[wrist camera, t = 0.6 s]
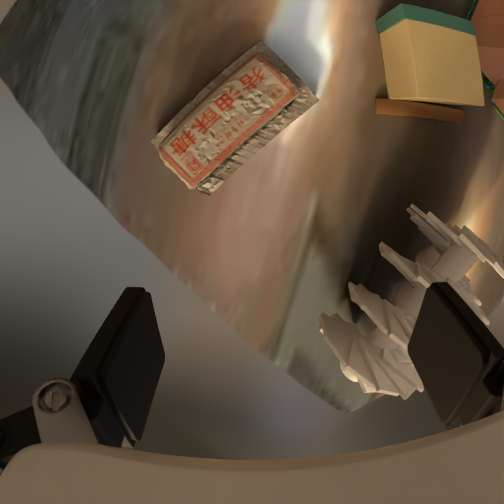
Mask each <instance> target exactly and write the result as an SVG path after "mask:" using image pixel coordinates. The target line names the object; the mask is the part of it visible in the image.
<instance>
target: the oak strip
mask: <svg viewBox="0 0 504 504" xmlns="http://www.w3.org/2000/svg"><path fill="white" fill-rule="evenodd" d="M375 112H376V114H389V115H400V116H410V117H419V118H427V119H434V120H441V121H448V122H454V123H460V124H463V110H459V109H454V108H449V107H443V106H437V105H431V104H425V103H418V102H410V101H402V100H393V99H382V98H375Z"/></svg>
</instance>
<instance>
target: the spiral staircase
mask: <svg viewBox="0 0 504 504" xmlns="http://www.w3.org/2000/svg"><path fill="white" fill-rule="evenodd" d="M410 207H411V208H412V209H413V210H414V211H415V212H417V213H418V214H419V215H420V216H421V217H422V218H423V219H424V220H425V221H427V222H428V223H429V224H430V225H431V226H432V227H433V228H434V229H435V230H436V231H437V232H438V233H439V234H440V235H442V236H443V237H444V238H445V239H446V240H447V241H448V242H449V243H450V244H449V243H448V242H447V241H446V240H444V239H443V238H442V237H441V236H440V235H439V234H438V233H437V232H436V231H435V230H434V229H433V228H432V227H431V226H429V225H428V224H427V223H426V222H425V221H424V220H423V219H422V218H421V217H419V216H418V215H417V214H416V213H415V212H414V211H412V210H411V209H410V208H409V207H408V208H407V209H406V210H407V211H408V212H409V213H410V214H411V217H410V219H411V220H412V221H413V222H414V223H416V224H417V225H418V226H419V227H418V229H419V230H420V231H421V232H422V233H423V234H424V235H425V236H426V237H427V238H428V239H429V240H430V241H432V242H433V243H434V244H433V245H432V246H433V247H434V248H435V250H436V251H437V252H438V253H439V254H440V255H441V256H440V258H439V259H438V260H437V261H436V263H435V264H434V265H433V266H432V267H431V269H430V268H429V267H427V266H426V265H425V264H424V263H423V264H422V265H421V264H419V263H418V262H417V261H415V262H412V261H410V260H408V259H406V258H404V257H402V256H401V255H399V254H398V253H397V252H395V251H394V250H393V249H391V248H390V247H389V246H387V245H386V244H385V243H383V242H381V243H380V244H379V250H380V253H381V255H382V256H383V257H384V258H385V259H387V260H388V261H389V262H390V263H391V264H393V265H394V266H395V267H396V268H397V269H398V270H399V271H400V272H401V273H402V274H403V276H404V277H405V278H406V279H407V280H408V282H409V283H410V284H411V285H412V287H413V290H412V291H411V292H410V293H409V294H408V295H407V296H406V297H405V298H404V299H403V301H402V302H401V303H400V304H399V305H398V306H397V307H394V306H393V305H392V304H391V303H389V302H388V301H387V300H386V299H383V300H382V299H381V298H380V296H379V295H377V294H374V293H371V292H369V291H368V290H367V289H366V288H365V287H364V286H363V285H362V284H359V285H357V286H356V285H355V284H353V283H352V282H349V283H348V288H349V292H350V297H351V300H352V301H353V302H355V303H356V304H358V305H359V306H360V308H361V310H363V311H365V313H366V314H367V315H368V316H369V317H370V318H371V319H372V321H373V322H374V323H375V324H376V325H377V326H378V327H377V328H376V329H375V330H374V331H373V332H372V333H371V334H370V335H369V336H368V337H367V338H366V337H365V336H363V334H362V333H361V332H360V330H359V328H358V327H357V325H356V324H353V323H350V322H346V321H344V320H343V319H342V318H341V317H340V316H339V315H338V314H337V313H336V314H334V315H332V316H330V317H329V316H328V315H326V314H325V313H323V312H322V313H321V314H320V318H319V321H320V327H319V331H320V332H322V333H323V334H324V337H325V338H324V340H325V341H326V343H327V344H328V345H329V347H330V348H331V349H332V351H333V352H334V354H335V355H336V356H337V358H338V359H339V360H340V367H341V370H342V372H343V373H344V374H345V376H346V377H347V378H349V379H350V380H352V381H354V382H359V384H360V386H361V388H362V390H363V392H364V393H367V392H381V393H385V394H390V395H395V396H398V395H399V394H400V395H401V397H402V398H403V399H404V400H406V399H407V398H408V397H409V396H410V395H411V394H412V393H413V392H414V391H415V390H416V389H418V390H419V391H420V392H422V391H424V388H423V383H422V381H421V379H420V377H419V375H418V373H417V371H416V369H415V367H414V366H413V365H411V364H413V363H412V361H411V359H410V357H409V355H408V351H407V347H408V343H409V341H410V338H411V335H412V332H413V329H414V326H415V323H416V320H417V317H418V314H419V311H420V308H421V305H422V302H423V298H424V295H425V292H426V289H427V288H428V287H430V285H431V283H433V282H447V283H449V284H450V285H451V286H452V288H453V289H454V290H455V291H456V292H457V293H458V294H459V295H460V296H461V298H462V299H463V300H464V301H465V302H466V303H467V304H468V306H469V307H470V308H471V309H472V310H473V311H474V313H475V314H476V315H477V316H478V317H479V319H480V320H481V319H482V320H483V321H484V323H486V325H489V324H490V322H489V320H488V319H487V317H486V315H485V314H484V312H483V311H482V310H481V309H480V308H479V307H478V305H479V306H481V304H482V303H481V302H480V301H479V299H478V298H477V297H476V296H475V295H474V294H473V292H472V291H471V290H470V285H469V283H468V282H469V281H470V280H469V279H468V278H467V277H466V276H465V274H466V273H467V272H468V271H469V269H470V268H471V267H472V266H473V264H474V263H475V262H476V260H477V259H478V258H479V259H480V260H481V261H483V262H484V263H485V261H486V262H488V263H489V264H490V265H491V266H492V267H493V268H494V269H495V270H496V271H497V272H498V273H499V274H500V275H501V276H502V277H503V278H504V263H503V262H502V261H501V260H500V259H499V258H498V256H497V255H496V254H495V253H494V252H493V251H492V250H491V249H490V248H489V246H488V245H487V244H486V243H485V242H484V241H483V240H481V239H479V238H478V237H477V236H476V235H475V234H474V233H473V232H472V231H471V230H469V229H468V228H467V227H466V226H463V228H462V229H460V228H458V227H457V226H456V225H455V226H454V227H451V226H450V225H448V224H447V223H445V224H443V223H442V222H441V221H440V220H439V219H438V218H437V217H436V216H434V215H433V214H432V213H431V212H430V211H429V212H428V214H427V215H428V216H429V217H428V216H427V215H426V214H425V213H423V212H422V211H421V210H420V209H418V208H417V207H416V206H415V205H413V204H411V206H410ZM476 303H477V304H478V305H477V304H476ZM482 320H481V321H482Z"/></svg>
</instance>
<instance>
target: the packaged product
mask: <svg viewBox="0 0 504 504" xmlns="http://www.w3.org/2000/svg"><path fill="white" fill-rule="evenodd" d="M318 101H319V99H318V98H317V97H316V96H315V95H314V94H313V93H312V91H311V90H310V89H309V88H308V87H307V86H306V85H305V84H304V83H303V82H302V81H301V79H300V78H299V77H298V76H297V75H296V74H295V73H294V72H293V71H292V70H291V69H290V68H289V67H288V66H287V65H286V64H285V63H284V62H283V61H282V60H281V59H280V58H279V57H278V56H277V55H276V54H275V53H274V52H273V51H272V50H271V49H270V48H269V47H267V46H266V45H265V44H264V43H263V42H262V41H260V42H259V43H257V44H256V45H255V46H254V47H252V48H251V49H249V50H248V51H247V52H246V53H244V54H243V55H242V56H241V57H240V58H238V59H237V60H236V61H235V62H234V63H232V64H231V65H230V66H229V67H228V68H226V69H225V70H224V71H223V72H222V73H221V74H219V75H218V76H217V77H216V78H215V79H214V80H213V81H212V82H210V83H209V84H208V85H207V86H206V87H205V88H204V89H203V90H202V91H200V92H199V93H198V94H197V96H196V97H195V98H194V99H193V100H192V101H190V102H189V103H188V104H187V105H186V106H185V107H184V108H183V109H182V110H181V111H180V112H179V113H178V114H177V115H176V116H175V117H174V118H173V119H172V120H171V121H170V122H169V123H168V124H167V125H166V126H165V127H164V128H163V129H162V130H161V132H160V133H159V134H158V135H157V136H156V137H155V138H154V139H153V140H152V141H151V143H153V144H154V145H155V146H156V148H157V149H158V151H159V153H160V154H159V156H160V158H162V159H163V161H164V164H165V165H166V166H167V167H168V168H169V169H171V170H172V171H173V172H174V173H175V174H177V175H178V176H179V178H180V179H181V180H183V181H184V182H185V183H186V185H187V186H188V188H189V189H190V190H192V189H193V190H194V189H195V188H196V189H197V190H198V191H200V192H201V194H204V195H208V196H209V195H210V194H211V193H212V192H214V191H215V190H216V189H217V188H218V187H219V186H220V185H221V184H222V183H223V182H224V181H225V180H226V179H227V178H228V177H229V176H231V175H232V174H233V173H234V172H235V171H236V170H237V169H239V168H240V167H241V166H242V165H243V164H244V163H245V162H247V161H248V160H249V159H250V158H251V157H252V156H253V155H254V154H255V153H257V152H258V151H259V150H260V149H261V148H263V147H264V146H265V145H266V144H267V143H269V142H270V141H271V140H272V139H273V138H274V137H275V136H276V135H277V134H278V133H280V132H281V131H282V130H283V129H284V128H286V127H287V126H288V125H289V124H291V123H292V122H293V121H294V120H296V119H297V118H298V117H299V116H301V115H302V114H303V113H305V112H306V111H307V110H308V109H310V108H311V107H312V106H313V105H314V104H316V103H317V102H318Z"/></svg>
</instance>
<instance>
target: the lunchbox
mask: <svg viewBox="0 0 504 504" xmlns="http://www.w3.org/2000/svg"><path fill="white" fill-rule="evenodd" d="M376 25H377V30H378V34H379V36H380V42H381V48H382V54H383V61H384V68H385V76H386V85H387V94H388V99H394V100H410V101H422V102H432V103H441V104H450V105H472V106H485V105H484V93H483V83H482V74H481V67H480V60H479V54H478V48H477V43H476V37H475V36H476V34H475V29H474V25H473V22H472V21H469V20H466V19H463V18H460V17H457V16H454V15H450V14H447V13H443V12H440V11H436V10H432V9H428V8H423V7H419V6H414V5H410V4H405V3H401V4H399V5H398V6H396V7H395V8H393V9H392V10H390V11H389V12H387V13H386V14H385V15H383V16H382V17H380V18H379V19H378V20H376Z"/></svg>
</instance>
